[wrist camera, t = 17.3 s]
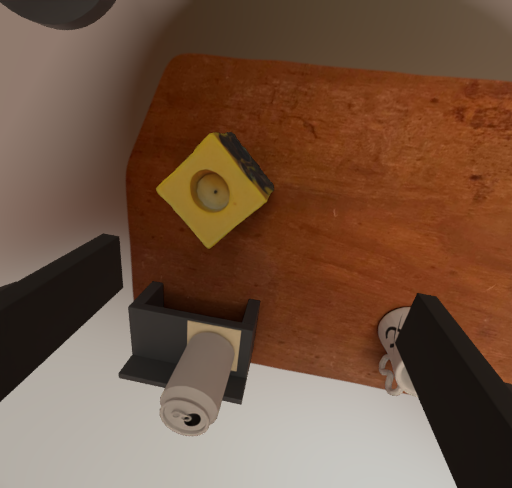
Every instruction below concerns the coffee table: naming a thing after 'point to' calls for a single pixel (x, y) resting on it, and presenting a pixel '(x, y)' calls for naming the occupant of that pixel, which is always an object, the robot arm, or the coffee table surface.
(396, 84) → the coffee table surface
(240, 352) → the shelf
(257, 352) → the coffee table surface
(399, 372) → the mug
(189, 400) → the can
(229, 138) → the candle
